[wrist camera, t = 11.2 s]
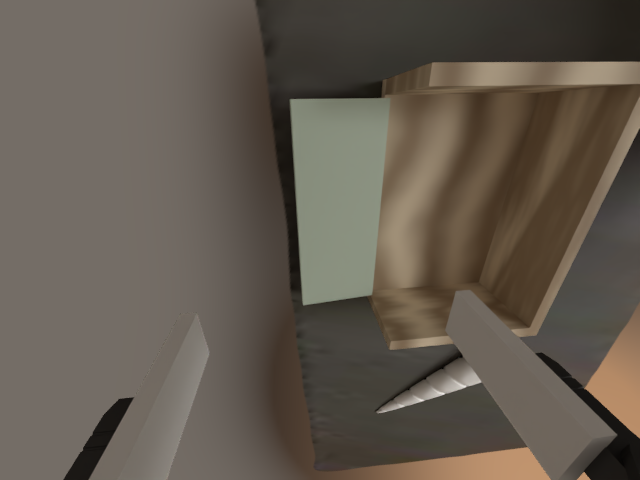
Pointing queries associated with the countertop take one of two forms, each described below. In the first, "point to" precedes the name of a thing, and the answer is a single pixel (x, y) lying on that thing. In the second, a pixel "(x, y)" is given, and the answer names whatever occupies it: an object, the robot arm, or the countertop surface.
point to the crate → (493, 186)
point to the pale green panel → (338, 193)
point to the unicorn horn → (436, 385)
